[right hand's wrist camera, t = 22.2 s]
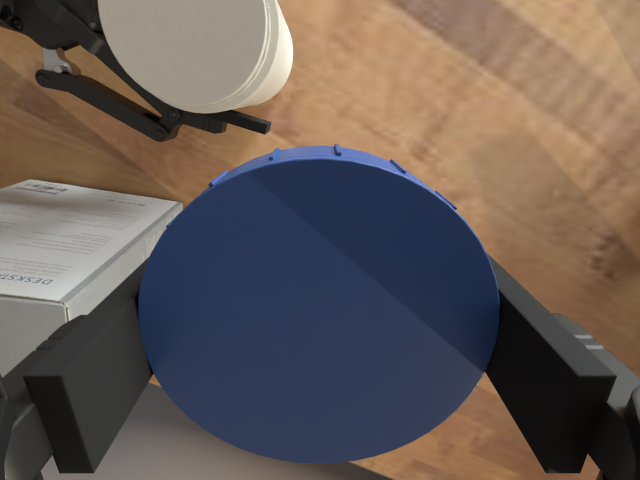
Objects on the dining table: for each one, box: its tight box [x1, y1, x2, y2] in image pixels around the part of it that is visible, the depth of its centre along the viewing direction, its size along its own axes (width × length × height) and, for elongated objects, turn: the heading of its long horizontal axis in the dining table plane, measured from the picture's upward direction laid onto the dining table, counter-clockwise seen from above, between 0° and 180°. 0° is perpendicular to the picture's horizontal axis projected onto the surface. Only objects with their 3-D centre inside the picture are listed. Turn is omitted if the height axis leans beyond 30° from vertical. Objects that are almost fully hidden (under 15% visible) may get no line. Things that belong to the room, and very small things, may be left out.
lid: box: [138, 144, 500, 464], centre depth 11 cm, size 10×10×2 cm
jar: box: [98, 0, 293, 113], centre depth 25 cm, size 9×9×16 cm
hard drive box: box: [0, 179, 183, 378], centre depth 29 cm, size 16×8×20 cm, turn 81°
